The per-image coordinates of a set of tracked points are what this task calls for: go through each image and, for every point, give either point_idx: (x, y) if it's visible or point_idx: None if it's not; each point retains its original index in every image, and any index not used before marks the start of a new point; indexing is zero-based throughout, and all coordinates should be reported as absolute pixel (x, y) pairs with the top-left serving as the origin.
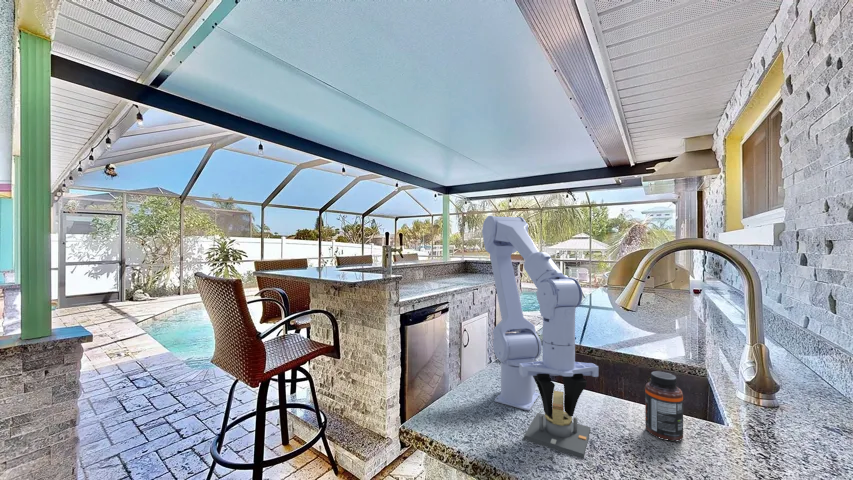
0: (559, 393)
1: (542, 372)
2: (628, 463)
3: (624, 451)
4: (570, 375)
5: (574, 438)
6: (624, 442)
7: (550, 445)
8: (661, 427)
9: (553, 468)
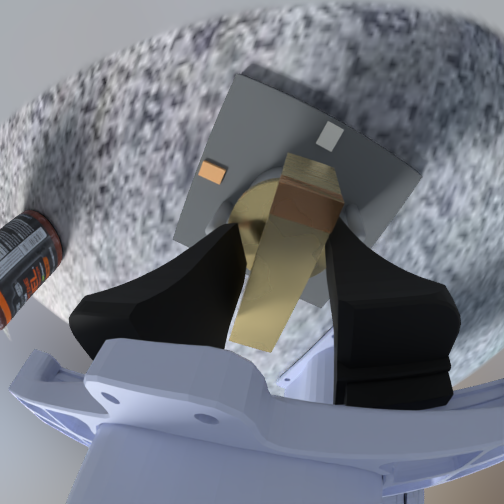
0: (251, 330)
1: (457, 410)
2: (117, 88)
3: (112, 144)
4: (124, 348)
5: (241, 166)
6: (104, 189)
7: (343, 124)
8: (26, 227)
9: (362, 18)
